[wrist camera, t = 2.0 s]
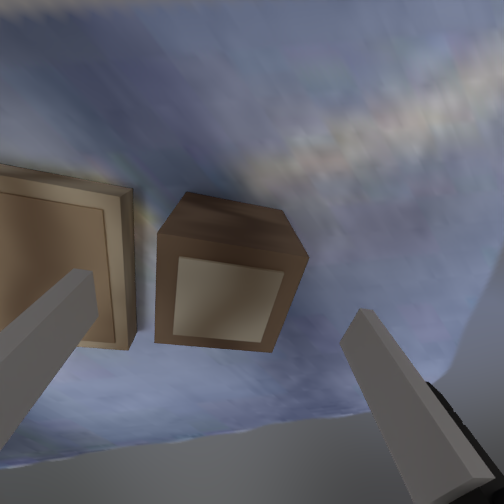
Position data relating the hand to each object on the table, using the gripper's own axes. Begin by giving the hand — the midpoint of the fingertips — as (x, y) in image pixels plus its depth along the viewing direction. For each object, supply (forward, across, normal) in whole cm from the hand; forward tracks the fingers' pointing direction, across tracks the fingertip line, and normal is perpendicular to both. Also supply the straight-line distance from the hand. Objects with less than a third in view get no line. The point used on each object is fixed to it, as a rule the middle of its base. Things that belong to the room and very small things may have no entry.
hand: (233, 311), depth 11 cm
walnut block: (+8, -1, 0) cm, 8 cm away
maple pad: (+7, -14, -4) cm, 16 cm away
